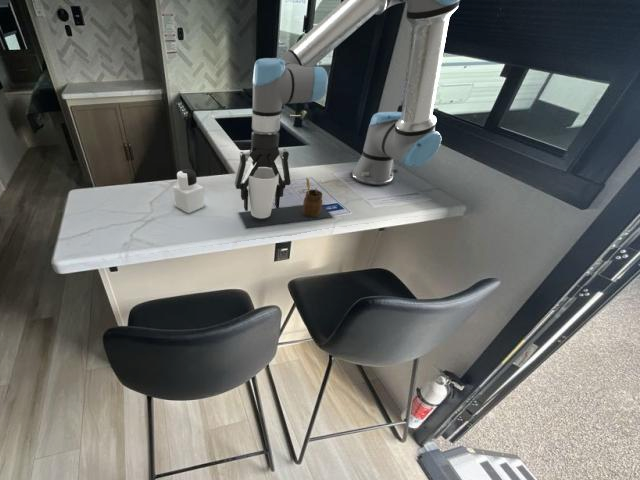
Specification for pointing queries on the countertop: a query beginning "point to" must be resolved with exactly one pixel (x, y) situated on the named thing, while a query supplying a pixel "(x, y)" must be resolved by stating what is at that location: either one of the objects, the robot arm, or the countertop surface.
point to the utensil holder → (312, 201)
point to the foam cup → (262, 191)
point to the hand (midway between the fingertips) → (261, 207)
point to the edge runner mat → (281, 216)
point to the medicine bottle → (188, 192)
